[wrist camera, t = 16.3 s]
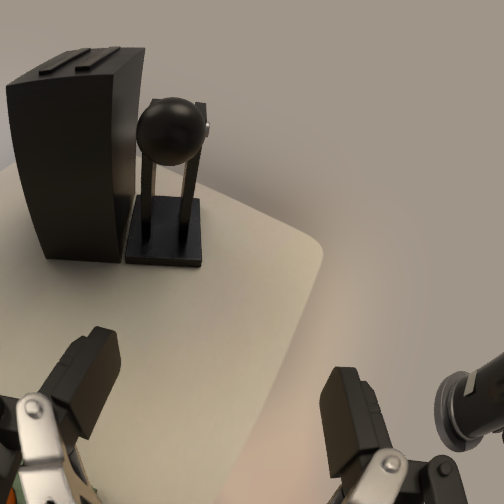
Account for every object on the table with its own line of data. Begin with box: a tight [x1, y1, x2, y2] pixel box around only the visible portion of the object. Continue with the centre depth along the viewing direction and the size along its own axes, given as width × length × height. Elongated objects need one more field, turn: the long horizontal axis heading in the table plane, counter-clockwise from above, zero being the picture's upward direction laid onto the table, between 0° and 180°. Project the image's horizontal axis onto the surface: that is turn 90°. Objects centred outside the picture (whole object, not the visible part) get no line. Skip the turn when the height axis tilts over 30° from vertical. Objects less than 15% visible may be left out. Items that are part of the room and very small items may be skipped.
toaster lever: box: [136, 97, 206, 166], centre depth 18 cm, size 14×4×4 cm, turn 9°
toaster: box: [6, 47, 145, 263], centre depth 23 cm, size 12×9×19 cm
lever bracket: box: [125, 99, 210, 267], centre depth 27 cm, size 10×8×15 cm
